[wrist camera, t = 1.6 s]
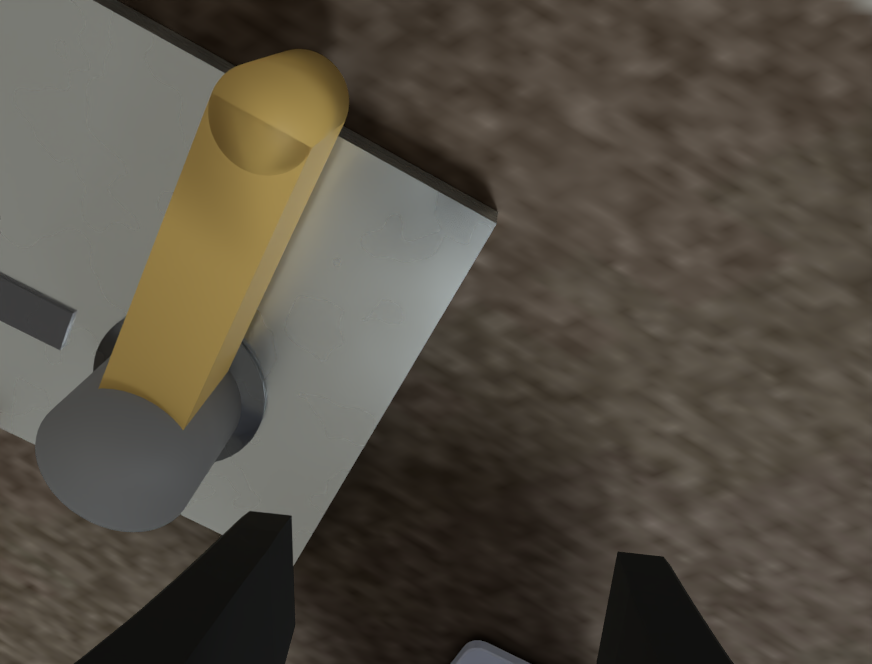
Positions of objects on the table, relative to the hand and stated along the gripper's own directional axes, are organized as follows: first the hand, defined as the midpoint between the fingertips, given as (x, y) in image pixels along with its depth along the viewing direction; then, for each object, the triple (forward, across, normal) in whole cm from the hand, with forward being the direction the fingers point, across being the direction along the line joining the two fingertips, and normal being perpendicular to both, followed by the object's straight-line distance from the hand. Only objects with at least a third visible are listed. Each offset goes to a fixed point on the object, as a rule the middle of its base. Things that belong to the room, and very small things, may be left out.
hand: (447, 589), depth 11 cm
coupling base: (+10, +10, -1) cm, 14 cm away
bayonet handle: (+8, +6, -1) cm, 10 cm away
